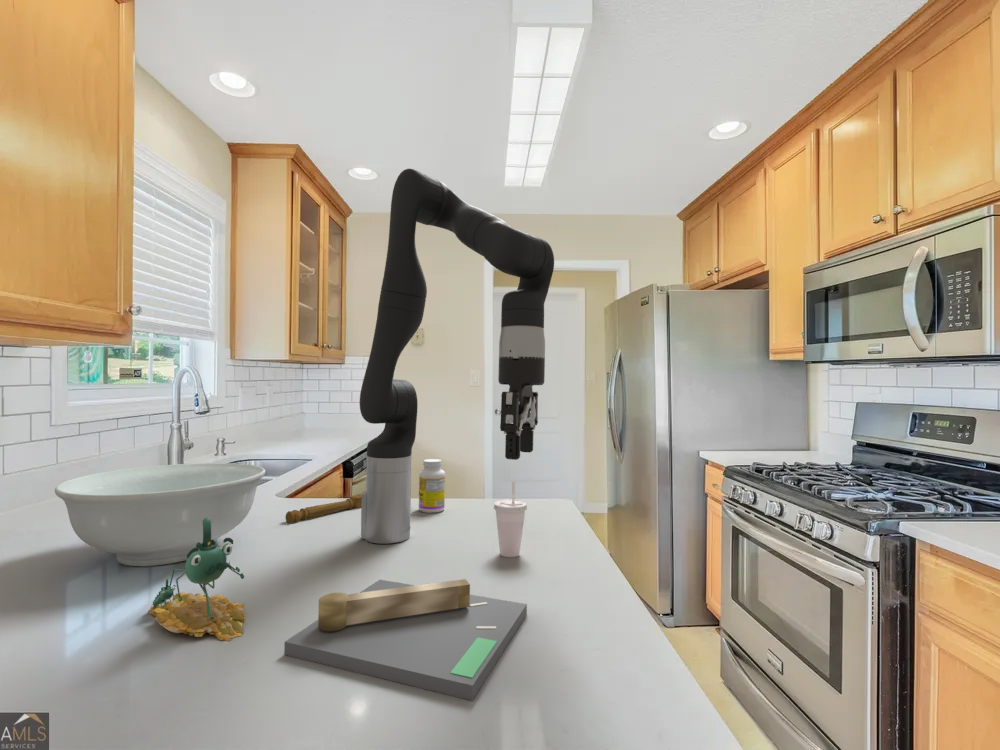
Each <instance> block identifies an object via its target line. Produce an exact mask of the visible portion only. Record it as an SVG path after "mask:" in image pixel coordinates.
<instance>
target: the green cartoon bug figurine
mask: <svg viewBox="0 0 1000 750" xmlns="http://www.w3.org/2000/svg"><path fill="white" fill-rule="evenodd" d="M227 542H228V543H227ZM222 543H225V544H224V545H223V546H222V548H221V547H219V546H218V542H217V543H216V541H215V540H214V539H212V540H211V520H210V519H209V518H205V519H203V542H202V544H201V543H200V542H198V543H197V544H196V547H195V548H193V549H192V550H191V551H190V552H189V553H188V554H187V560H185V565H184V569H182V568H181V569H180V568H173V569H172V573H171V576H170V577H171V578H170V579H169V578H166V580H165V586H163V587H160V588H161V590H160V591H158V594H157V593H156V596H155V597H154V600H153V601H152V604H151V606H150V609H149V610H148V615H152V616H155V617H154V620H156V621H157V623H158V624H159V625H160V626H161V627H162V628H164V629H166V630H167V631H168V632H171V633H173V634H182V633H183V634H185V635H189V636H194V637H195V638H196V637H197V638H199V637H200V638H201V637H203V635H205V634H206V633H208V634H209V635H213V636H215V637H216V638H217V639H218V640H221V641H226V642H229V641H232V639H234V638H238V637H241V636H242V634H243V635H244V628H243V623H245V621H246V619H247V618H246V613H245V612H244V611H245V610H244V608H243V607H245V603H238V602H232V601H230V599H229V598H228V597H225V596H224V595H220V594H214V595H211V596H209V595H208V592H207V587H206V586H209V587H210V588H212V590H214V589H215V583H216V582H215V581H216V580H218V579H220V577H221V576H222V575H223V573H224V572H225V570H226V569H229V570H230V571H232V572H233V573H235V574H236V575H238V576H240V578H241V579H242V580H243V579H244V578H245V575H244V573H243V572H242V573H240V572H241V569H240V568H239V567H238V566H236V567H235V568H234V566H232V565H231V564H230V563H231V561H228V562H227V557H228V556H229V555H231V553H232V550H233V547H232V545H234V540H233V538H231V537H225V538H224V539H223V542H222ZM175 571H178V572H183V573H181V575H179V576H178V577H177V578H176V579H175V583H176V585H174V584H173V585H172V583H173V578H174V574H175ZM184 575H186V577H187V579H188V581H189V582H191V583H192V584H197V585H199V586H200V588H201V590H202V591H203V593H204V594H203V595H202V594H200V593H195V594H194V593H192V592H183V591H181V592H180V587H179V582H178V581H179V579H181V578H182V577H183V576H184ZM210 583H212V584H210ZM176 588H177V593H174V591H175V590H176ZM171 598H172V600H171ZM167 600H169V601H167Z"/></svg>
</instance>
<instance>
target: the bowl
mask: <svg viewBox="0 0 1000 750" xmlns="http://www.w3.org/2000/svg"><path fill="white" fill-rule="evenodd" d="M265 475H266V469H265V468H264V467H262V466H259V465H254V464H247V463H246V464H245V463H225V462H224V463H222V462H220V463H219V462H217V463H215V462H213V463H181V464H178V463H177V464H163V465H148V466H141V467H132V468H131V467H130V468H125V469H116V470H109V471H104V472H97V473H91V474H87V475H84V476H79V477H76V478H71V479H69V480H66V481H64V482H61V483H59V484H58V485H56V486H55V488H54V494H55V495H56V496H57V497H58V498H59V499H62V501H63V502H64V504H65V507H66V511H67V514H68V519H69V523H70V526H71V527H72V530H73V531H74V533H75V535H76V536H77V537H78V538H79V539H80V540H81V541H82V542H83V543H84V544H86V545H88V546H89V547H92V548H94V549H96V550H99V551H103V552H106V553H112V554H115V555H116V559H117V562H118V563H119V564H122V565H124V566H130V567H154V566H155V567H156V566H161V565H162V566H163V565H170V564H175V563H180V562H184V561H185V562H186V561H187V554H188V553H189V552H190V551H191V550H192V549H193V548H195V547H196V544H197V543H198V542H200V543H201V544H202V542H203V519H205V518H209V519H210V520H211V540H212V539H214V540H215V541H216V543H217V544H218V539H220V537H222V536H225V535H227V534H228V533H229V532H231V531H232V530H234V529H235V528H236V527H237V526H239V525H240V524H241V523H242V521H244V520H245V519H246V517H247V516H248V514H249V513H250V511H251V510H252V506H253V504H254V501H255V496H256V491H257V487H258V484H259V482H260V481H261V479H262V478H263V477H264V476H265Z"/></svg>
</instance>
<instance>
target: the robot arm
mask: <svg viewBox="0 0 1000 750" xmlns="http://www.w3.org/2000/svg"><path fill="white" fill-rule="evenodd" d="M417 223H419V224H423V225H425V226H432V227H437V228H441V229H444V230H447V231H450V232H452V233H453V234H455V237H456V238H457V239H458V240H459V241H460V242H461V244H463V245H464V246H466V247H467V248H468V249H470V250H472V251H473V252H475V253H477V254H478V255H480V256H482V257H484V259H485V260H486V261H487V262H488V263H489V265H491V266H492V267H493V268H494V269H497V270H498V271H499V272H501V273H504V274H506V275H509V276H513V277H517V278H519V282H518V285H517V289H516V290H512V291H508V292H505V294H504V295H503V297H502V299H501V317H500V321H501V322H500V333H499V334H500V335H499V341H498V376H497V377H498V379H497V380H498V383H499V385H508V386H509V388H508V391H502V392H501V396H500V397H501V402H500V403H501V405H500V426H499V428H500V432H503V434H504V435H505V452H504V453H505V455H504V456H505V459H506V460H514V461H516V460H519V459H520V458H521V453H529V454H530V453H532V452H533V450H534V433H535V432H534V431H535V430H536V426H537V425H538V424H539V420H538V418H539V417H538V412H539V411H538V410H539V409H538V408H539V405H538V403H539V402H538V401H539V400H538V397H539V393H538V391H533V386H543V385H544V384H545V370H546V369H545V367H546V339H545V302H546V299H547V296H548V293H549V289H550V284H551V282H552V277H553V273H554V269H555V255H554V251H553V248H552V246H551V244H550V243H548V241H546V240H545V239H543V238H540V237H538V236H536V235H532V234H530V233H526V232H524V231H522V230H519V229H518V228H517V229H516V228H514V227H512V226H510V225H509V224H508V223H507V222H506V221H504V220H503V219H501V218H500V217H497V216H496V215H494V214H492V213H490V212H487V211H485V210H483V209H481V208H479V207H476V206H473V205H471V204H469V203H467V202H466V201H465V200H463V199H462V198H460V197H459V195H457V194H456V193H455V192H454V191H453V190H452V188H451V189H450V188H449V187H448V185H446V184H445V183H444V182H443V181H441V180H439V179H437V178H435V177H432V176H430V175H428V174H426V173H424V172H421V171H419V170H417V169H414V168H406V169H404V170H402V171H401V172H400V173H399V175H398V176H397V178H396V180H395V183H394V185H393V189H392V195H391V201H390V215H389V231H388V245H387V252H386V258H385V259H386V260H385V265H384V272H383V279H382V282H381V288H380V294H379V300H378V307H377V308H378V309H377V315H376V322H375V329H374V335H373V339H372V345H371V349H370V352H369V353H370V354H369V358H368V361H367V365H366V369H365V371H364V372H365V373H364V376H363V380H362V384H361V390H360V394H359V410H360V414H361V417H362V418H363V420H364V421H365V422H366V423H369V424H372V425H373V424H374V425H375V424H385V425H384V428H383V430H382V431H381V433H380V434H378V436H376V437H374V438H373V439H371V440H370V441H368V442H367V446H366V477H365V478H366V480H365V481H366V485H365V490H364V491H363V492H362V493H361V494H362V508H360V509H361V512H360V513H361V515H360V516H361V517H360V518H361V520H360V539H362V540H365V541H367V542H369V543H373V544H381V545H382V544H383V545H385V544H396V543H401V542H404V541H407V540H408V539H409V538H410V536H411V508H412V507H411V505H412V504H411V503H412V502H411V500H412V499H411V498H412V497H411V496H412V453H413V452H412V450H413V446H414V443H415V440H416V434H417V420H418V395H417V391H416V388H415V387H414V385H413V384H412V383H411V382H410V381H408V380H404V379H395V378H394V375H395V370H396V366H397V363H398V360H399V357H400V356H401V354H402V353H403V350H404V349H405V348H406V346H408V344H409V342H410V341H411V340H412V338H413V337H414V336H415V334H416V332H417V331H418V329H420V326H421V324H422V321H423V317H424V312H425V306H426V301H427V293H428V287H427V281H426V278H425V274H424V271H423V269H422V265H421V262H420V259H419V256H418V254H417V253H418V252H417V247H416V231H417V230H416V229H417Z"/></svg>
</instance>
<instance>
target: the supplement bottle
mask: <svg viewBox="0 0 1000 750" xmlns="http://www.w3.org/2000/svg"><path fill="white" fill-rule="evenodd" d="M422 465H423V469H422V470H421V471H420V472H419V476H418V477H419V478H418V480H419V481H418V509H419V511H420V512H421V513H428V514H431V513H432V514H433V513H434V514H435V513H441V512H442V511H444V510H445V508H446V507H445V506H446V505H445V504H446V499H445V498H446V496H445V495H446V472H445V471H444V470H443V469H442V459H437V458H427V459H424V460H422Z"/></svg>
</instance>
